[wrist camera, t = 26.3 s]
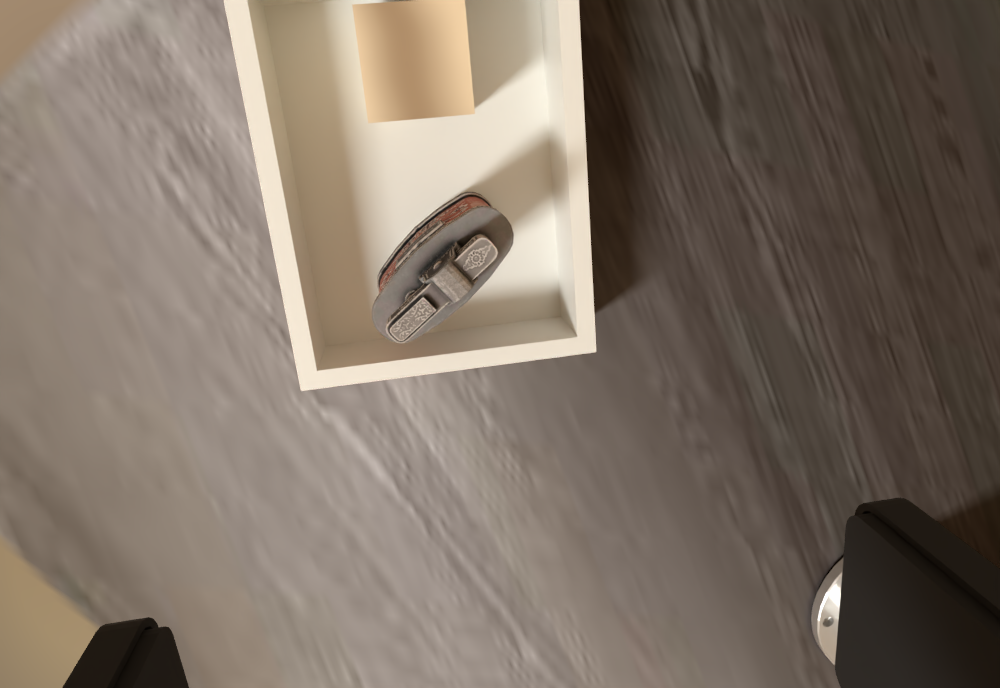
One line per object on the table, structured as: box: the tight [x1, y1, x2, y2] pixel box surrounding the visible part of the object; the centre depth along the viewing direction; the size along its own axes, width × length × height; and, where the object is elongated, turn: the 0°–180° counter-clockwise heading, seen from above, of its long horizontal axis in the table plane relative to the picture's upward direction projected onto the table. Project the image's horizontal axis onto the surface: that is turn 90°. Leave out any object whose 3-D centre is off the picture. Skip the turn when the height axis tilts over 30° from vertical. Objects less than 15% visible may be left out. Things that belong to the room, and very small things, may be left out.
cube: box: [352, 0, 475, 123], centre depth 34 cm, size 5×5×5 cm
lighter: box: [372, 192, 514, 343], centre depth 34 cm, size 8×3×10 cm, turn 132°
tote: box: [224, 0, 596, 391], centre depth 36 cm, size 16×20×5 cm
